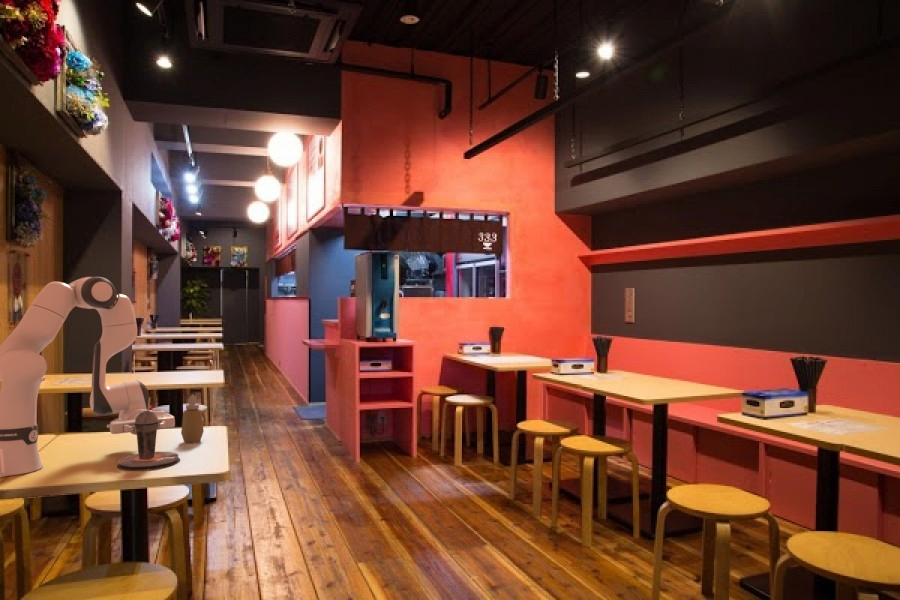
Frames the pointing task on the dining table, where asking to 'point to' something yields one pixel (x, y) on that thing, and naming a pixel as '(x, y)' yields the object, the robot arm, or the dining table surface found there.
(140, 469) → the base
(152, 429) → the beverage cup
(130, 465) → the dark round disc
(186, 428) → the squeeze bottle
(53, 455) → the dining table surface
